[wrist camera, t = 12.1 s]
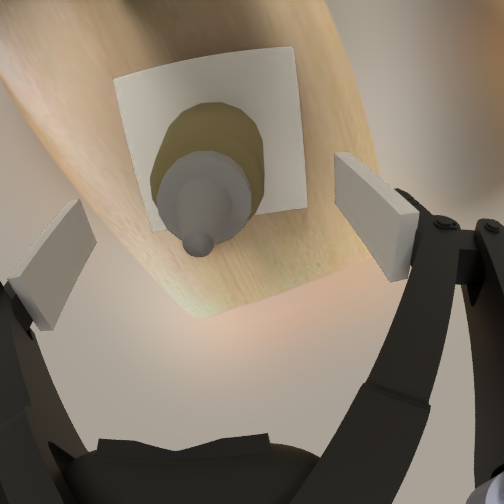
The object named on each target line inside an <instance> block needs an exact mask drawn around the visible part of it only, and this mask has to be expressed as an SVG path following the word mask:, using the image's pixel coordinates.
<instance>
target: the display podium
mask: <svg viewBox="0 0 504 504" xmlns="http://www.w3.org/2000/svg"><path fill="white" fill-rule="evenodd" d="M113 81H114V86H115V91H116V96H117V100H118V105H119V110H120V114H121V119H122V123H123V127H124V131H125V136H126V140H127V144H128V148H129V152H130V156H131V160H132V163H133V167H134V171H135V175H136V178H137V182H138V186H139V189H140V193H141V196H142V200H143V203H144V206H145V210H146V213H147V216H148V220H149V223H150V226H151V229H152V232H158V231H163V230H167V228H166V226H165V225H164V223H163V221H162V220H161V218H160V216H159V214H158V209H157V207H156V205H155V203H154V202H153V200H152V194H151V186H150V175H151V172H152V169H153V165H154V162H155V159H156V156H157V154H158V151H159V149H160V146H161V144H162V141H163V139H164V136H165V134H166V132H167V129H168V127H169V126H170V124H171V123H172V122H173V121H174V120H175V119H176V118H177V117H178V116H179V115H180V113H181V112H182V111H185V110H187V109H189V108H191V107H193V106H195V105H198V104H200V103H211V102H223V103H225V104H228V105H231V106H234V107H236V108H239V109H241V110H242V111H243V112H244V113H245V114H247V115H248V116H249V117H250V118H251V119H252V120H253V121H254V122H255V123H256V126H257V128H258V130H259V133H260V135H261V138H262V140H263V152H264V170H265V181H264V196H263V198H262V200H261V203H260V205H259V207H258V209H257V211H256V213H255V214H254V215H260V214H267V213H273V212H280V211H287V210H294V209H301V208H308V205H307V188H306V172H305V158H304V144H303V132H302V121H301V110H300V100H299V90H298V81H297V72H296V64H295V55H294V47H293V46H287V47H273V48H261V49H252V50H243V51H235V52H228V53H221V54H215V55H209V56H203V57H198V58H193V59H188V60H183V61H178V62H174V63H169V64H165V65H161V66H157V67H153V68H149V69H145V70H142V71H138V72H134V73H131V74H128V75H124V76H121V77H118V78H115V79H113ZM254 215H253V216H254Z"/></svg>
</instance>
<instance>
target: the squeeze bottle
mask: <svg viewBox="0 0 504 504" xmlns="http://www.w3.org/2000/svg"><path fill="white" fill-rule="evenodd" d="M264 181H265V170H264V152H263V140H262V138H261V135H260V133H259V130H258V128H257V126H256V123H255V122H254V121H253V120H252V119H251V118H250V117H249V116H248V115H247V114H245V113H244V112H243V111H242V110H241V109H239V108H236V107H234V106H231V105H228V104H225V103H223V102H211V103H200V104H198V105H195V106H193V107H191V108H189V109H187V110H185V111H182V112H181V113H180V115H179V116H178V117H177V118H176V119H175V120H174V121H173V122H172V123H171V124H170V126H169V127H168V129H167V132H166V134H165V136H164V139H163V141H162V144H161V146H160V149H159V151H158V154H157V156H156V159H155V162H154V165H153V169H152V172H151V175H150V186H151V194H152V200H153V202H154V203H155V205H156V207H157V209H158V214H159V216H160V218H161V220H162V221H163V223H164V225H165V226H166V228H167V230H169V231H170V232H171V233H172V234H174V235H175V236H176V237H178V238H179V239H180V240H182V242H183V247H184V249H185V251H186V252H187V253H188V254H190V255H191V256H194V257H204V256H206V255H208V254H209V253H210V252H211V251H212V250H213V248H214V246H215V245H216V244H219V243H222V242H224V241H227V240H229V239H232V238H233V237H234V236H235V235H236V234H237V233H238V232H239V231H240V230H242V229H243V228H244V227H245V225H246V222H247V221H248V220H249V219H250V218H251V217H252V216H253V215H254V214H255V213H256V211H257V209H258V207H259V205H260V203H261V200H262V198H263V196H264Z"/></svg>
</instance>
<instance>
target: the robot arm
mask: <svg viewBox="0 0 504 504" xmlns="http://www.w3.org/2000/svg"><path fill="white" fill-rule="evenodd" d="M334 169H335V204H336V205H337V206H338V208H339V209H340V211H341V212H342V213H343V215H344V216H345V217H346V219H347V220H348V222H349V223H350V224H351V226H352V227H353V228H354V230H355V231H356V233H357V234H358V236H359V237H360V238H361V240H362V241H363V243H364V244H365V246H366V247H367V249H368V250H369V251H370V253H371V254H372V256H373V257H374V259H375V260H376V262H377V263H378V265H379V266H380V268H381V269H382V271H383V272H384V274H385V276H386V277H387V279H388V280H389V282H394V281H399V280H403V279H407V278H408V274H409V269H410V265H411V266H412V269H411V273H410V276H409V279H408V282H407V284H406V287H405V290H404V293H403V296H402V298H401V301H400V304H399V306H398V309H397V312H396V314H395V317H394V319H393V322H392V325H391V327H390V329H389V332H388V334H387V337H386V339H385V341H384V344H383V346H382V348H381V351H380V353H379V355H378V358H377V360H376V362H375V364H374V366H373V368H372V371H371V373H370V375H369V377H368V379H367V381H366V382H365V383H363V384H362V386H361V387H360V389H359V391H358V393H357V395H356V397H355V399H354V401H353V402H352V404H351V406H350V408H349V410H348V412H347V413H346V415H345V417H344V419H343V421H342V422H341V425H340V426H339V428H338V429H337V432H336V433H335V435H334V436H333V438H332V440H331V441H330V443H329V445H328V446H327V448H326V450H325V451H324V453H323V454H322V456H321V458H320V457H318V456H316V455H314V454H313V453H310V452H308V451H305V450H303V449H300V448H296V447H293V446H288V445H283V444H273V443H270V440H269V436H268V433H265V434H258V435H251V436H242V437H233V438H222V439H218V440H215V441H212V442H209V443H205V444H202V445H199V446H195V447H191V448H188V449H184V450H180V451H171V450H167V449H163V448H159V447H155V446H151V445H148V444H144V443H141V442H137V441H129V440H111V439H99V441H98V447H97V450H94V451H91V452H88V451H87V449H86V448H85V447H84V445H83V443H82V441H81V439H80V437H79V436H78V434H77V432H76V430H75V428H74V426H73V424H72V422H71V420H70V418H69V416H68V414H67V412H66V410H65V408H64V406H63V404H62V402H61V400H60V398H59V395H58V393H57V391H56V388H55V386H54V384H53V382H52V379H51V377H50V375H49V372H48V369H47V367H46V364H45V362H44V359H43V356H42V354H41V351H40V348H39V345H38V343H37V340H36V337H35V334H34V332H33V331H32V329H31V328H30V325H31V324H32V322H33V321H34V323H35V324H36V326H37V327H38V329H39V330H40V331H49V330H54V327H55V325H56V323H57V320H58V318H59V316H60V314H61V311H62V309H63V307H64V305H65V303H66V301H67V299H68V297H69V295H70V292H71V291H72V289H73V287H74V284H75V283H76V281H77V278H78V277H79V275H80V273H81V271H82V269H83V267H84V265H85V263H86V261H87V259H88V258H89V256H90V254H91V252H92V250H93V249H94V247H95V245H96V243H97V242H96V239H95V237H94V234H93V232H92V229H91V227H90V224H89V222H88V219H87V217H86V214H85V211H84V209H83V206H82V203H81V201H80V199H77V200H73V201H69V202H68V203H67V204H66V205H65V206H64V207H63V208H62V210H61V211H60V212H59V213H58V214H57V215H56V217H55V218H54V219H53V220H52V221H51V222H50V224H49V225H48V226H47V227H46V228H45V230H44V231H43V232H42V233H41V234H40V236H39V237H38V238H37V239H36V241H35V242H34V243H33V245H32V246H31V247H30V248H29V250H28V251H27V252H26V254H25V255H24V256H23V258H22V259H21V260H20V262H19V263H18V265H17V266H16V267H15V269H14V270H13V271H12V273H11V274H10V276H9V277H8V278H7V280H8V281H7V283H6V284H5V286H4V287H3V285H2V283H1V282H0V504H392V502H393V500H394V498H395V496H396V494H397V492H398V490H399V488H400V486H401V484H402V482H403V480H404V477H405V475H406V473H407V471H408V469H409V466H410V464H411V462H412V459H413V457H414V455H415V452H416V450H417V447H418V445H419V442H420V439H421V437H422V434H423V431H424V429H425V426H426V423H427V420H428V416H429V413H430V407H431V406H430V405H429V398H430V395H431V392H432V388H433V385H434V382H435V378H436V375H437V371H438V367H439V363H440V360H441V356H442V351H443V347H444V343H445V339H446V334H447V329H448V324H449V319H450V314H451V308H452V302H453V296H454V289H455V284H459V285H461V288H462V292H463V298H464V303H465V308H466V314H467V321H468V327H469V334H470V342H471V351H472V361H473V373H474V388H475V451H474V477H475V490H474V491H473V492H472V493H471V495H470V496H469V498H468V499H467V502H466V504H504V226H503V225H501V224H500V223H499V222H498V221H495V220H493V219H480V220H478V222H477V224H476V228H475V231H474V230H461V229H460V225H459V224H458V223H457V222H456V221H455V220H453V219H451V218H449V217H445V216H440V215H432V214H431V213H430V212H429V211H428V210H427V209H426V208H424V207H423V206H422V205H421V204H419V202H418V201H416V200H414V198H413V197H412V196H411V195H410V194H408V193H407V192H405V191H402V190H400V189H398V188H397V189H393V188H392V187H391V186H390V185H389V184H388V183H386V182H385V181H384V180H383V179H382V178H380V177H379V176H378V175H377V174H376V173H374V172H373V171H372V170H371V169H369V168H368V167H367V166H366V165H365V164H363V163H362V162H361V161H359V160H358V159H357V158H356V157H354V156H353V155H352V154H351V153H349V152H341V153H334Z"/></svg>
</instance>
